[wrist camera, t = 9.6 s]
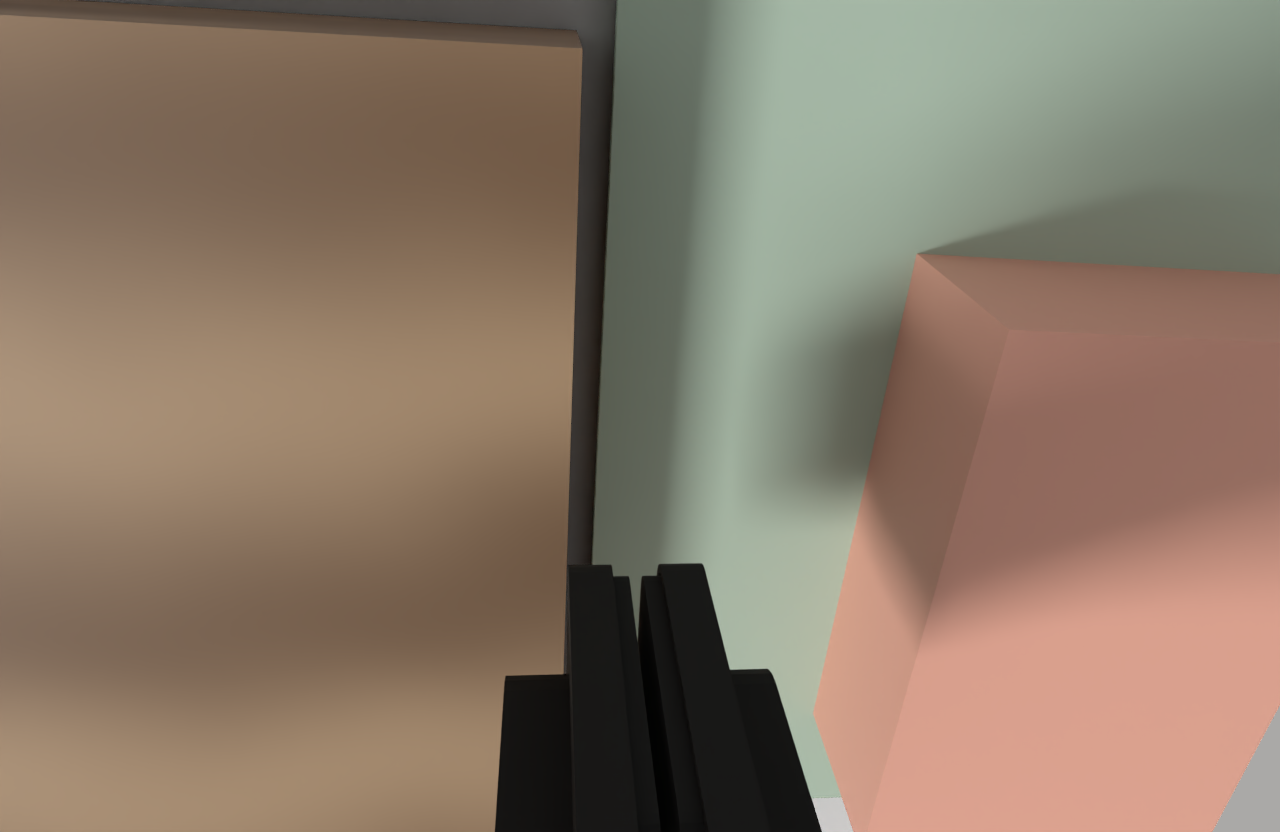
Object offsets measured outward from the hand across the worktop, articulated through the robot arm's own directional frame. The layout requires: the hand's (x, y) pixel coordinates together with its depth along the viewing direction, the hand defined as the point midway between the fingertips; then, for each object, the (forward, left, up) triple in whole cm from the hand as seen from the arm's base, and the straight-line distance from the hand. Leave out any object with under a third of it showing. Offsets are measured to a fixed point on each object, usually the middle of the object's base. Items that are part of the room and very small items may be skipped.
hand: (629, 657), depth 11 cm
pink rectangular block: (0, +7, -2) cm, 7 cm away
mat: (0, +5, -4) cm, 7 cm away
